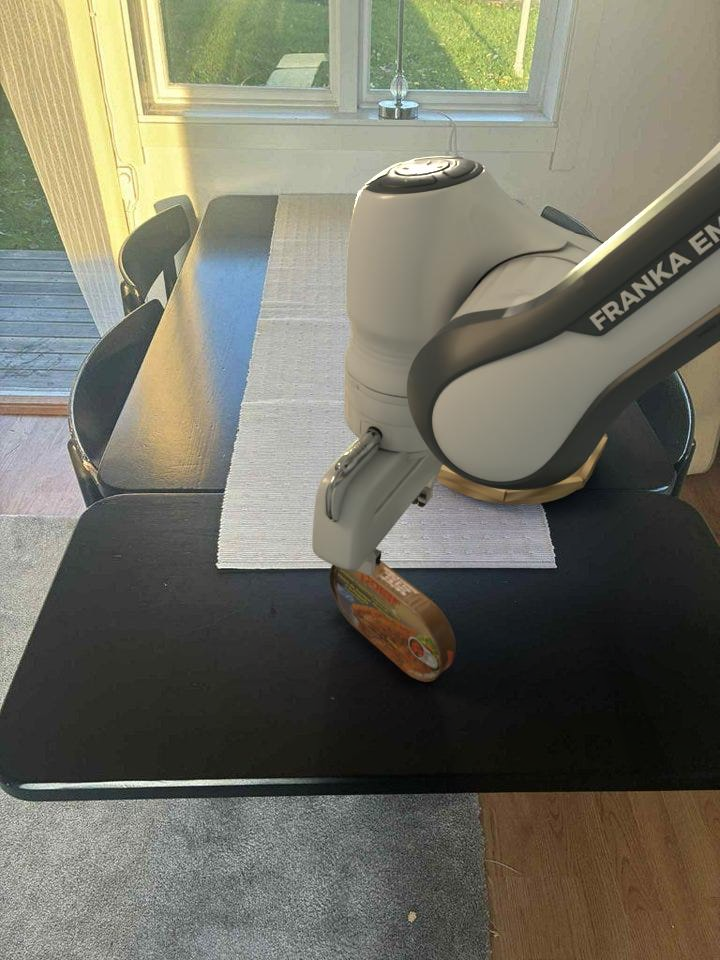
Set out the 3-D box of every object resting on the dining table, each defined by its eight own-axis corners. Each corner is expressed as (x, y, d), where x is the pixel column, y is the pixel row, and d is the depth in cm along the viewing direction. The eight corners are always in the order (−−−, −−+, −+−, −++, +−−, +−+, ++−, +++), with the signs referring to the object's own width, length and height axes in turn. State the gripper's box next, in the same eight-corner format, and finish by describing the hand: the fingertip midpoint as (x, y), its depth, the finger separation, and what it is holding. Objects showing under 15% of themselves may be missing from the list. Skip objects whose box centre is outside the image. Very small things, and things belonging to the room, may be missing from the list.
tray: (618, 425, 95) (640, 352, 87) (561, 532, 79) (583, 454, 72) (456, 374, 104) (464, 305, 96) (376, 461, 88) (379, 386, 81)
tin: (327, 603, 73) (326, 546, 67) (350, 587, 74) (350, 531, 69) (433, 699, 64) (441, 644, 59) (456, 680, 66) (466, 624, 60)
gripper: (371, 494, 43) (364, 633, 52) (498, 349, 56) (475, 479, 65) (286, 459, 45) (294, 598, 54) (427, 328, 58) (415, 457, 67)
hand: (394, 532), depth 60 cm, fingers open, 8 cm apart
